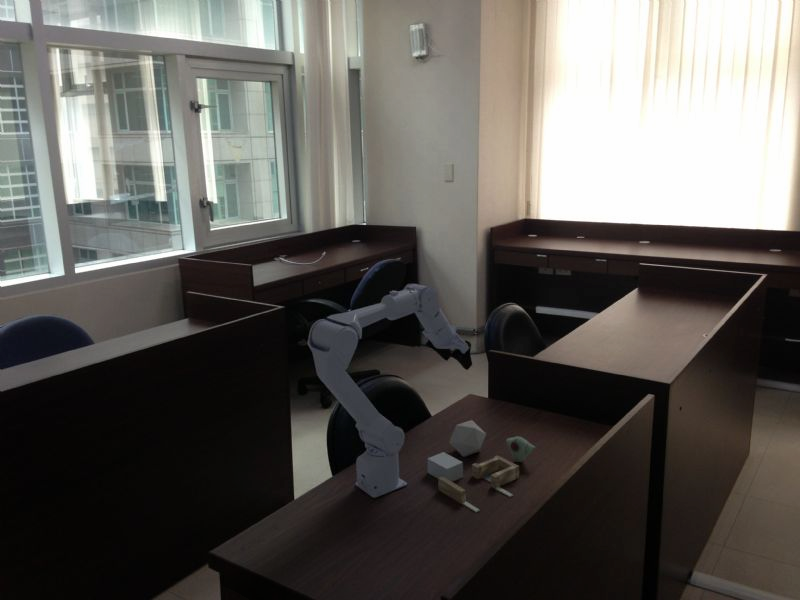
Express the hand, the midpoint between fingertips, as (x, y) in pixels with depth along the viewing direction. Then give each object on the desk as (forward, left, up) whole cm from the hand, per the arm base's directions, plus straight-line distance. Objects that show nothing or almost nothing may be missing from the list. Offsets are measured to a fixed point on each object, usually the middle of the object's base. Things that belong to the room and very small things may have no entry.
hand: (458, 362), depth 170 cm
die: (+1, -2, -24) cm, 24 cm away
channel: (-8, -16, -24) cm, 30 cm away
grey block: (-11, -8, -24) cm, 28 cm away
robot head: (+7, -14, -24) cm, 29 cm away
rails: (-11, -23, -24) cm, 35 cm away
